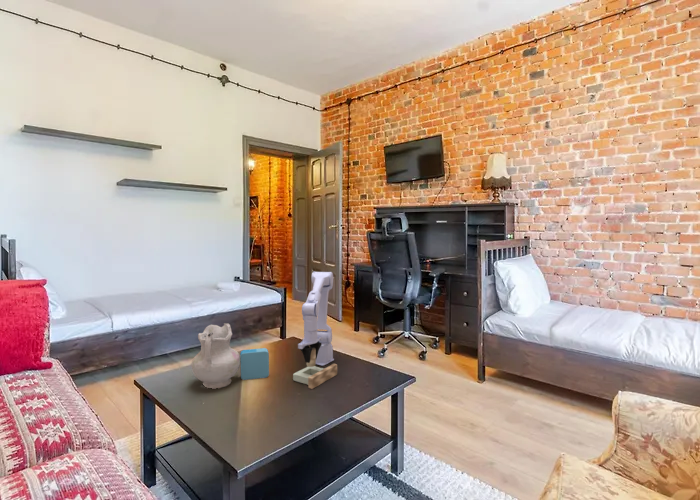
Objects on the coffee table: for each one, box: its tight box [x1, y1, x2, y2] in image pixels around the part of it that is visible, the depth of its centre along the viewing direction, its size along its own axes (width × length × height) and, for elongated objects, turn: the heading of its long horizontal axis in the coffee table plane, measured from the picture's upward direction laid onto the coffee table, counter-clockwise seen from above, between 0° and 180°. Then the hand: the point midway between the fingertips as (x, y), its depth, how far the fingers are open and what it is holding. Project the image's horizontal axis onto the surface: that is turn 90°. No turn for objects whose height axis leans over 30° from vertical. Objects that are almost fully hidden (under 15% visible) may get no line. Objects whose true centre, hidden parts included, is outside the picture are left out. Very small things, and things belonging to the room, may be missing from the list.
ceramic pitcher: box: [190, 322, 241, 390], centre depth 160 cm, size 22×20×25 cm
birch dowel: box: [305, 348, 317, 367], centre depth 166 cm, size 4×4×7 cm
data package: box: [239, 347, 270, 381], centre depth 168 cm, size 12×4×12 cm, turn 106°
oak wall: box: [307, 363, 338, 390], centre depth 164 cm, size 18×2×4 cm, turn 147°
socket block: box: [292, 365, 325, 385], centre depth 167 cm, size 12×10×3 cm
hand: (310, 360), depth 166 cm, fingers closed on birch dowel, 4 cm apart
